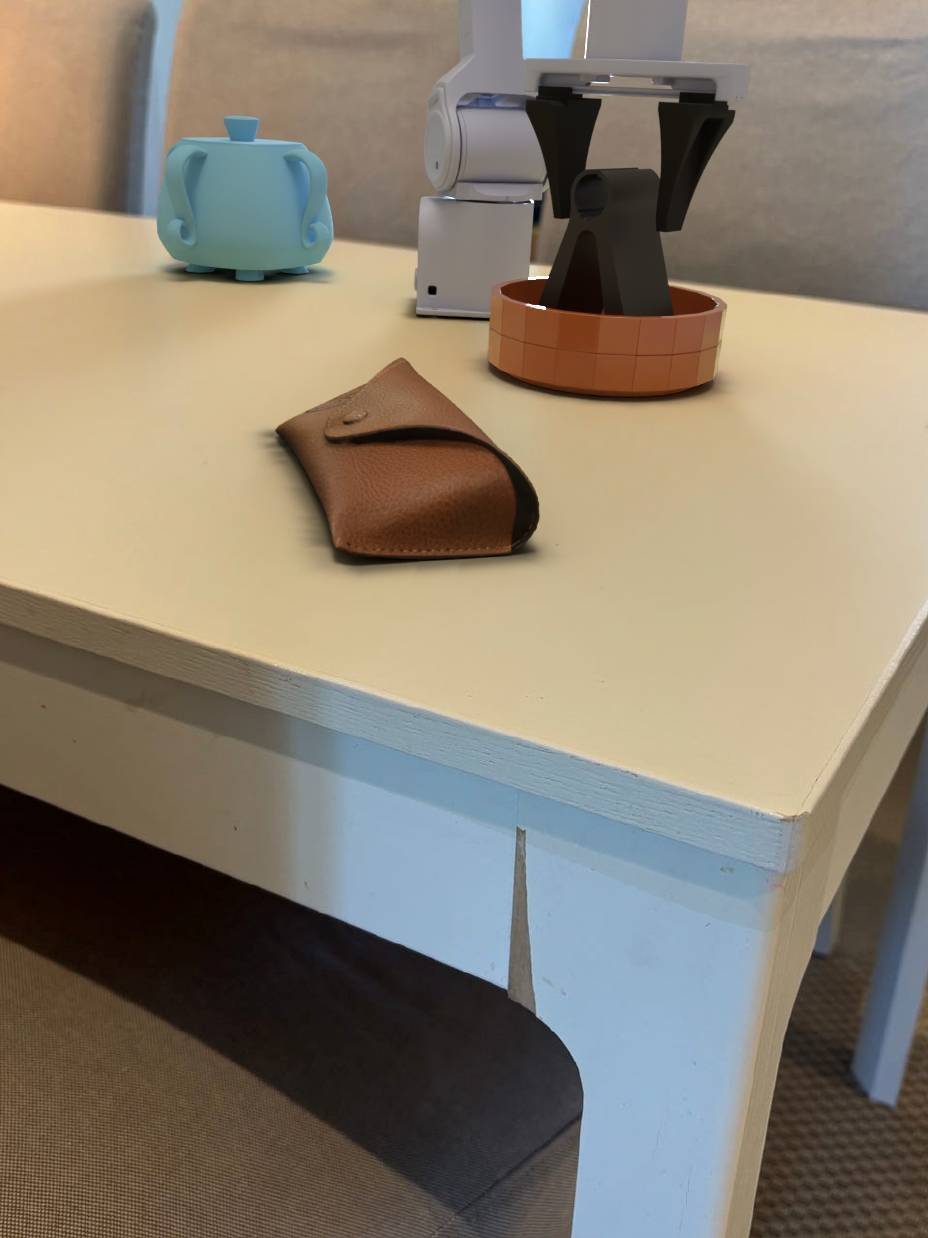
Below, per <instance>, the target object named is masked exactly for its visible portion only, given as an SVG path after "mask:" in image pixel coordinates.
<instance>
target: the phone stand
mask: <svg viewBox="0 0 928 1238" xmlns="http://www.w3.org/2000/svg"><path fill="white" fill-rule="evenodd" d="M659 183H660V175H658V173H657V172H656V171H655V170H654V169H652V168H639V167H613V168H612V167H611V168H588V169H587V168H586V170H584V171H582V172H581V173H580V174H579V175H578V176H577V177H576V179H575V180H574V182H573V185H572V188H571V194H570V198H571V211H570V218H569V219H568V223H567V226H566V229H565V231H564V233H563V237H562V240H561V242H560V245H559V247H558V250H557V253H556V254H555V255H556V256H555V258H554V261H553V263H552V266H551V268H550V271H549V274H548V276H547V277H548V279H547V282H546V284H545V287H544V290H543V292H542V295H541V298H540V300H539V303H538V306H540V307H545V308H551V309H557V310H563V311H572V312H581V313H590V314H600V315H601V313H602V310H603V307H604V313H605V315H618V316H674V313H673V307H672V302H671V296H670V290H669V285H670V284H669V279H668V273H667V266H666V262H665V256H664V255H665V254H664V249H663V243H662V238H661V233H660V232H659V231H656V208H657V199H658V191H659Z"/></svg>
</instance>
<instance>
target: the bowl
mask: <svg viewBox="0 0 928 1238" xmlns="http://www.w3.org/2000/svg"><path fill="white" fill-rule="evenodd" d="M547 279H548V276H536V277H529V278H522V279H516V280H510V281H504V282H501V283H499V284H497V285H494V286H492V287H491V304H490V318H489V324H488V342H487V343H488V344H487V361H488V362H489V363H490V364H492V365H493V366H494V367H495V368H497V369H498V370H500V371H501V372H505V373H507V375H509V376H511V377H513V378H514V379H517V380H519V381H522V382H524V383H527V384H529V385H533V386H537V387H540V388H545V389H549V390H554V391H560V392H565V393H572V394H579V395H589V396H599V397H619V398H620V397H621V398H623V397H624V398H628V397H630V398H637V397H655V396H656V397H657V396H664V395H672V394H677V393H681V392H684V391H687V390H690V389H692V388H693V387H694V388H695V387H698V386H700V385H702V384H703V385H704V384H705V383H708V382H711V381H713V380H714V378H715V376H717V374H718V370H719V365H720V357H721V350H722V345H723V337H724V329H725V324H726V317H727V311H728V304H727V303H726V302H725V301H724V300H723V299H722V298H721V297H718V296H716V295H713V294H710V293H708V292H704V291H702V290H697V289H693V288H689V287H684V286H679V285H674V284H669V290H670V296H671V302H672V307H673V313H674V316H618V315H605V313H604V307H603V310H602V313H601V315H600V314H590V313H581V312H572V311H563V310H557V309H551V308H545V307H540V306H538V303H539V300H540V298H541V295H542V292H543V290H544V287H545V284H546V282H547Z"/></svg>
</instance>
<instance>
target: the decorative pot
mask: <svg viewBox="0 0 928 1238" xmlns="http://www.w3.org/2000/svg"><path fill="white" fill-rule="evenodd" d="M222 120H223V124H224V127H225V130H226V132H227V135H228V137H223V136H221V137H217V136H215V137H214V136H212V137H211V136H209V137H202V136H201V137H200V136H199V137H180V139H179V140H177V141H176V142H175V143H173V144H172V145H171V146H170V147H169V149H168V151H166V156H165V163H164V176H163V179H162V182H161V185H160V190H159V195H158V201H157V208H156V209H157V210H156V233H157V236H158V239H159V240H160V242H161V244H162V246H163V247H164V248H165V251H166V252H167V253H168V254H169V256H170V257H171V258H172V259H173V260H176V261H179V262H183V263H186V264H188V266H187V267H186V269H185V271H186V272H190V273H211V272H214V271H215V269H216V268H217V269H218V268H220V269H230V270H235V280H239V281H245V282H247V281H248V282H250V281H251V282H258V281H263V280H265V276H264V271H275V270H280V271H281V272H282V273H285V274H296V275H297V274H307V273H309V270H308V268H307V266H312V265H313V266H314V265H317V264H320V263H321V262H322V261H323V260H324V258H325V257H326V255H327V253H328V251H329V250H330V248H331V247H332V244H333V242H334V224H333V215H332V211H331V205H330V200H329V198H328V195H327V192H328V172H327V169H326V166H325V164H324V163H323V161H322V159H320V157H319V156H317V155H316V154H315V153H313V152H312V151H309V150H308V148H307V146H306V145H304V143H303V142H295V141H289V140H288V141H287V140H278V139H264V138H256V136H257V132H258V130H259V125H260V119H259V118H257V117H254V116H246V115H245V116H244V115H229V116H224V117H223V118H222Z"/></svg>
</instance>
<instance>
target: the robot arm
mask: <svg viewBox="0 0 928 1238" xmlns="http://www.w3.org/2000/svg"><path fill="white" fill-rule="evenodd" d="M688 7H689V0H589V3H588V15H587V27H586V38H585V51H584V58H583V57H581V58H579V57H578V58H576V57H575V58H574V57H573V58H568V57H566V58H564V57H563V58H562V57H561V58H560V57H559V58H557V57H556V58H553V57H552V58H551V57H550V58H549V57H548V58H547V57H545V58H544V57H543V58H541V57H525V58H524V40H523V38H524V37H523V12H522V0H456V8H457V29H458V30H457V31H458V50H459V52H458V53H459V62H458V63H457V64H456V65H455V66H453V67H452V68H451V69H450V70H448V72H446V73H445V74H443V76H441V77H440V78H439V79H438V80H437V81H436V82H435V84H433V86H432V87H431V90H430V92H429V93H428V96H427V100H426V119H425V120H426V122H425V127H424V128H425V129H424V135H423V161H424V162H423V163H424V168H425V171H426V176H427V178H428V180H429V181H430V183H431V184H432V186H433V187H434V189H435V190H436V191H437V194H438V195H440V196H422V197H420V201H419V212H418V227H417V228H418V232H417V267H416V268H415V269H414V282H413V287H414V289H413V290H414V291H415V292H416V306H415V313H416V315H421V316H439V317H441V316H442V317H458V318H459V317H460V318H462V317H463V318H482V319H490V304H491V287H492V286H494V285H497V284H499V283H501V282H504V281H510V280H516V279H522V278H530V267H531V266H530V265H531V252H532V238H533V237H532V236H533V224H534V223H533V222H534V208H535V201H542V200H543V193H544V192H546V191H547V190H548V189H549V193H550V200H551V205H552V206H551V207H552V214H553V219H557V220H567V219H568V220H569V218H570V211H571V198H570V194H571V188H572V185H573V182H574V180H575V179H576V177H577V176H578V175H579V174H580V173H581V172H582V171H584V170H586V169H587V162H588V161H587V160H588V156H589V151H590V146H591V141H592V137H593V134H594V130H595V126H596V122H597V120H598V116H599V114H600V111H601V108H602V103H603V102H602V101H603V99H602V98H598V97H597V98H595V97H583V96H584V95H588V96H589V95H592V96H614V97H633V98H635V97H636V98H655V99H673V100H674V99H676V100H678V102H674V101H658V104H657V113H658V123H659V124H658V125H659V136H660V175H659V178H660V183H659V191H658V199H657V208H656V231H659V232H661V233H673V232H681V231H682V229H683V226H684V223H685V221H686V216H687V214H688V210H689V208H690V205H691V203H692V200H693V197H694V194H695V192H696V190H697V187H698V185H699V182H700V180H701V178H702V175H703V174H704V172H705V169H706V167H707V166H708V163H709V162H710V159H711V158H712V156H713V154H714V153H715V151H716V149H717V148H718V147H719V144H720V143H721V141H722V140H723V138H724V137H725V135H726V133H727V132H728V130H729V129H730V127H731V126H732V125H733V123H734V121H735V117H736V112H737V111H736V110H735V109H730V108H729V107H730V106H729V104H728V102H729V103H730V102H731V103H734V102H735V103H746V102H747V96H748V90H749V82H750V76H751V68H752V66H751V64H743V63H736V62H735V63H733V62H732V63H730V62H704V61H703V62H701V61H682V55H683V49H684V47H683V46H684V39H685V32H686V22H687V15H688V14H687V13H688ZM611 77H613V78H637V79H638V78H639V79H642V78H643V79H651V85H654V86H668V87H669V86H670V88H655V87H654V88H652V87H651V88H650V87H632V86H631V87H630V86H608V85H607V86H605V85H592V83H595V84H610V83H611Z"/></svg>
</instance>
